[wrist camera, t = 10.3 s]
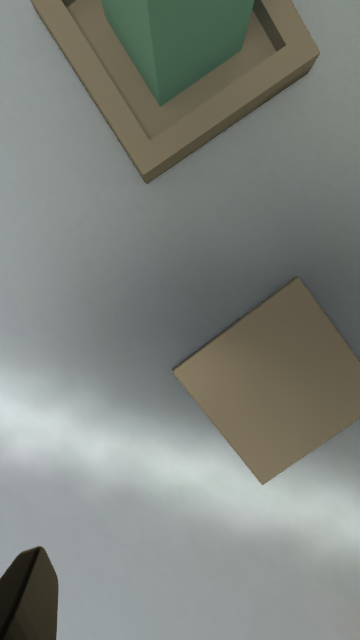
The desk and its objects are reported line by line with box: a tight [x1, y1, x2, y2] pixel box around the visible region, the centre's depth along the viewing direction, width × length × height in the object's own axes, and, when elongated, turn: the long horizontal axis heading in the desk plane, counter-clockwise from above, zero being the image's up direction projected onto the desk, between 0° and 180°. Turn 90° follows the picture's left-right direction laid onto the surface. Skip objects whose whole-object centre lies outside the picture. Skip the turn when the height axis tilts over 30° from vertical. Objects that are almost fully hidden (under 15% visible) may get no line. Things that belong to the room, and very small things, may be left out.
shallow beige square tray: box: [30, 0, 320, 184], centre depth 17 cm, size 10×10×2 cm
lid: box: [172, 277, 360, 485], centre depth 20 cm, size 9×9×1 cm
